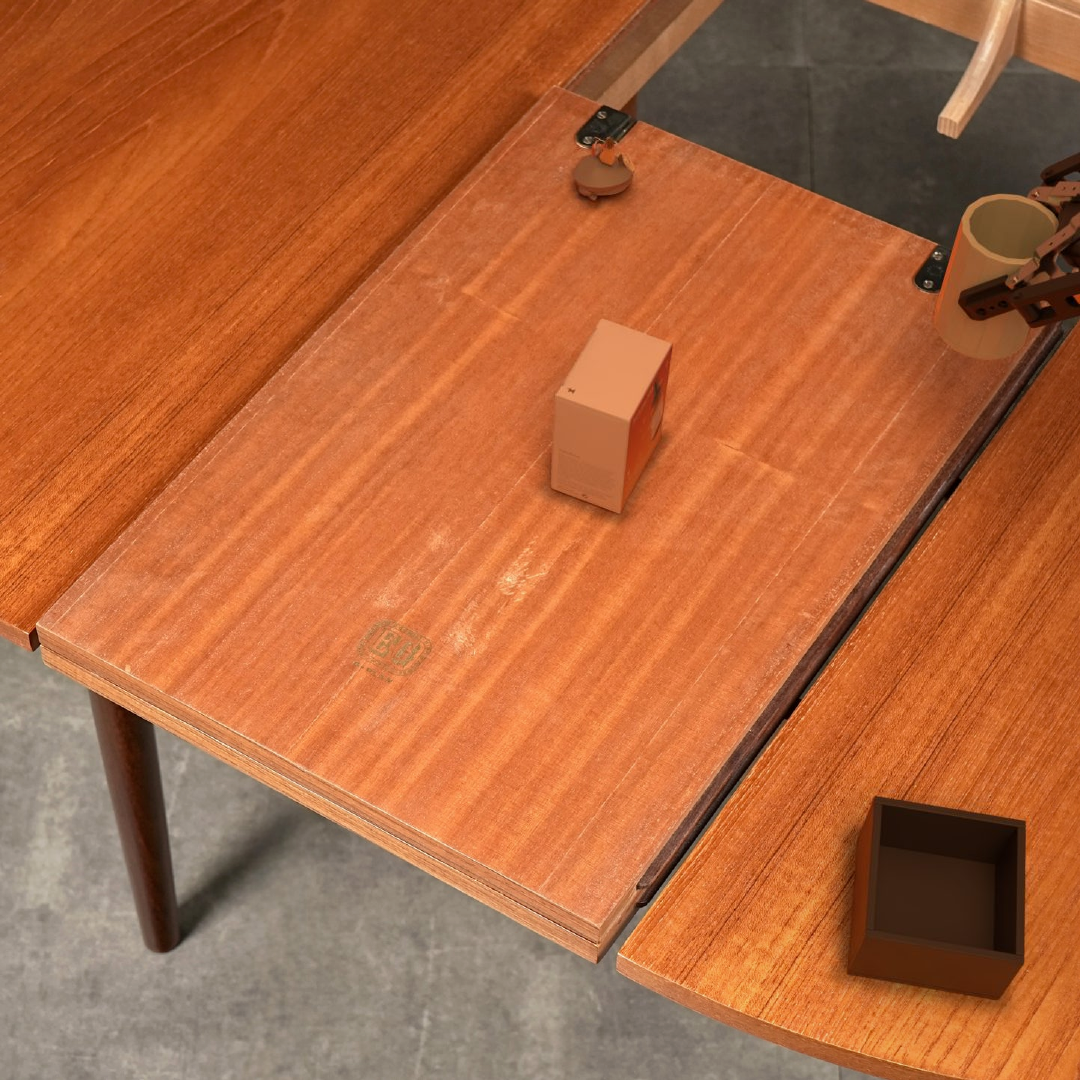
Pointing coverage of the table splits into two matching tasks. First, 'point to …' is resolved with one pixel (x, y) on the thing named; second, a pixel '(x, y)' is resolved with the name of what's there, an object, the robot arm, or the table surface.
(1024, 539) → the table surface
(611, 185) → the figurine
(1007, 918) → the basket
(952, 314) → the tumbler
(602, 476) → the small box
